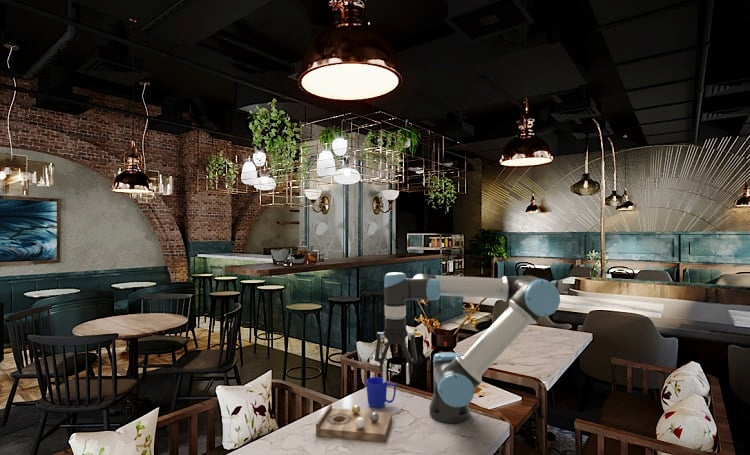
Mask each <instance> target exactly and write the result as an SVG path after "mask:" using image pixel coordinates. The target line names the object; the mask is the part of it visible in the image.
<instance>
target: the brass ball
mask: <svg viewBox="0 0 750 455" xmlns="http://www.w3.org/2000/svg"><path fill="white" fill-rule="evenodd" d="M351 410H352V412H353V413H354V414H358V413H359V412H360V411H361V407H360V406H359V405H357V404H355V405H353V406H352V407H351Z"/></svg>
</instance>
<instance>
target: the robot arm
mask: <svg viewBox="0 0 750 455" xmlns="http://www.w3.org/2000/svg"><path fill="white" fill-rule="evenodd" d="M406 276H407V275H406V273H404V272H388V273H386V274H385V275H384V283H383V285H384V287H383V288H384V317H385V318H384V331H383V332H380V331H377V333H376V335H375V336H376V346H375V354H374V361H375V362H377V363H379V372H380V373H382V378H383V383H385V382H386V381H387V361H385V359H386V356H387V354H388V352H389V349H390V346H391V345H394V344H395V345H400V347H401V349H402V351H403V354H404V356H405V358H406V365H405V368H406V369H405V372H406V375H405V376H406V381H405V383H406V385H409V384H410V375H412V373H413V365H414V364H417V363H418V355H417V348H416V342H415V338H416V333H415V332H413V333H410V332H408V331H407V318H406V316H407V301H430V302H431V301H437V300H440V298H441V296H447V297H450V296H451V297H466V298H467V297H468V298H485V299H499V300H500V299H501V301H502V302H504V303H505V302H506V303H507V302H508V303H509V305H508V307H507V308H506V309H505V310H504V311H503V313H501V315H500V316H498V318H497V319H496V320H495V321H494V322H493V323H492V324H491V325H490V327H488V329H487V330H486V331H485V332H484V333H483V334H482V335H480V337H479V338H478V339H477V341H476V342H474V343H473V345H472V346H471V347H470V348H469V349H468V350H467V351H466V352H465V353H464V354H462V353H460V352H459V353H458V352H447V351H445V352H438V353H435V354H434V355H433V358H432V359H433V360H432V363H433V395H432V397H431V402H430V405H429V415H430V417H431V418H432V419H434V420H435V421H438V422H441V423H445V424H459V423H464V422H466V421H468V420H469V419H470V415H471V412H470V411H471V410H470V406H469V404H470V403H471V402H472V400H473V399H474V396H475V390H476V389H477V388H478V387H479V385H480V384H482V382H483V380H482V376H483V374H484V373H485V372H486V371H487V370H488V369H489V368H490V367H491V366H492V365H493V364H494V363H495V361H497V359H498V358H500V356H501V355H502V354H503V353H504V352H505V351H506V349H508V348H509V347H510V345H511V344H512V343H513V342H514V341H515V340H516V339H517V338H518V336H520V335H521V333H523V332H524V330H525V329H526V328H528V326H529V325H535V324H537V323H539V322H540V320H541V319H543V317H548V316H551V315H552V314H555V312H556V311H557V310H558V308H559V306H560V303H561V296H560V292H559V290H558V288H557V287H556V286H555V284H553V283H552V282H550V281H549V280H547V279H544V278H539V277H537V276H533V275H513V276H512V275H510V276H509V275H503V276H502V277H500V278H499V277H498V278H495V277H494V278H493V277H477V276H459V275H457V276H455V275H454V276H453V275H439V274H437V275H436V274H435V275H433V274H425V273H417V274H415V275H414V276H412V277H413V278H407V277H406ZM384 337H385V339H386V340H387V342H386V345H385V348H384V349H383V351H382V352H383V353H382V354H381V348H382V346H381V345H382V339H383V338H384ZM407 337H408V340H409V341H410V350H411V353H412V354H410V351H409V349H408V347H407V345H406V342H405V340H406V338H407ZM380 355H381V357H380ZM411 355H412V356H411Z"/></svg>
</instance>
